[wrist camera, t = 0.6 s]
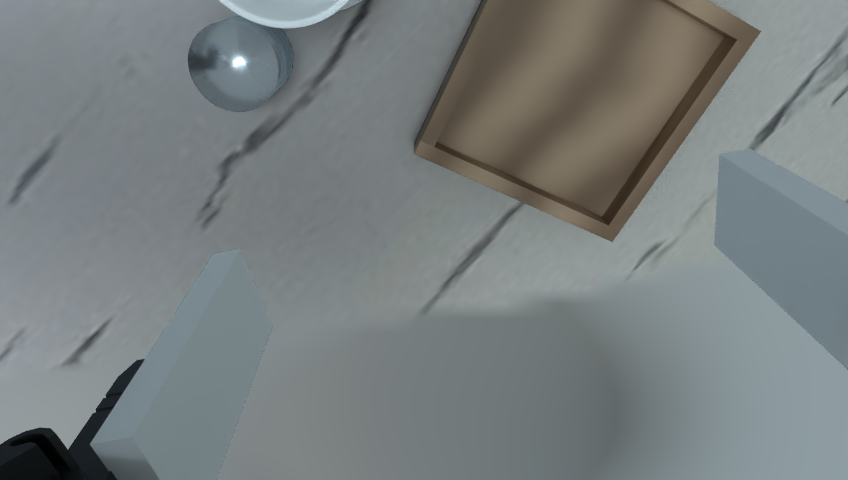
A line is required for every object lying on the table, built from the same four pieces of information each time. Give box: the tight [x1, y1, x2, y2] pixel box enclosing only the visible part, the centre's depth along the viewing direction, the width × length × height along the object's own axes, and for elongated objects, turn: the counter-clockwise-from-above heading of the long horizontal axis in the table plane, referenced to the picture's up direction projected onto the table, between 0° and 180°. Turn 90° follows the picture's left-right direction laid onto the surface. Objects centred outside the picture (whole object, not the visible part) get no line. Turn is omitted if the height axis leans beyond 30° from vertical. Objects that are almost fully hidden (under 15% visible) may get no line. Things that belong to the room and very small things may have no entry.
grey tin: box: [188, 16, 293, 112], centre depth 33 cm, size 5×5×5 cm
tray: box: [414, 0, 761, 242], centre depth 36 cm, size 16×16×2 cm
